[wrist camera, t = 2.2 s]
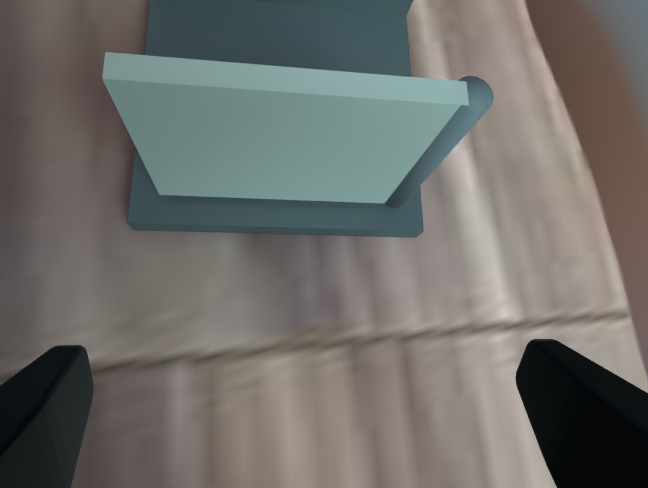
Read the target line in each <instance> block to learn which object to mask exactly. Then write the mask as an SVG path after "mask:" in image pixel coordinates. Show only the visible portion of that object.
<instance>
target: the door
mask: <svg viewBox="0 0 648 488" xmlns="http://www.w3.org/2000/svg"><path fill="white" fill-rule="evenodd" d="M102 79H103V81H104V84H105V86H106V88H107V90H108V92H109V94H110V96H111V98H112V100H113V102H114V104H115V106H116V108H117V110H118V112H119V114H120V116H121V118H122V120H123V122H124V124H125V126H126V128H127V130H128V132H129V134H130V136H131V138H132V140H133V142H134V144H135V146H136V148H137V150H138V152H139V154H140V157H141V159H142V161H143V163H144V165H145V167H146V169H147V171H148V173H149V175H150V177H151V179H152V181H153V183H154V185H155V187H156V189H157V191H158V193H159V195H176V196H202V197H228V198H254V199H280V200H306V201H332V202H358V203H384V204H385V205H387V206H388V207H391V208H398V207H401V206H402V205H403V204H404V203H405V202H406V201H407V200H408V199H409V197H410V196H411V195H412V194H413V193H414V192H415V191H416V190H417V188H418V187H419V186H420V185H421V184H422V183H423V182H424V181H425V179H426V178H427V177H428V176H429V175H430V174H431V173H432V172H433V170H434V169H435V168H436V167H437V166H438V165H439V164H440V163H441V162H442V160H443V159H444V158H445V157H446V156H447V155H448V154H449V153H450V151H451V150H452V149H453V148H454V147H455V146H456V145H457V144H458V142H459V141H460V140H461V139H462V138H463V137H464V136H465V135H466V133H467V132H468V131H469V130H470V129H471V128H472V127H473V126H474V124H475V123H476V122H477V121H478V120H479V119H480V118H481V117H482V115H483V114H484V113H485V112H486V111H487V110H488V109H489V108H490V106H491V105H492V103H493V92H492V90H491V88H490V86H489V85H488V84H487V83H486V82H485V81H484V80H482V79H480V78H478V77H474V76H467V77H463V78H461V79H460V80H459V81H454V80H441V79H429V78H417V77H405V76H393V75H380V74H368V73H356V72H344V71H331V70H319V69H307V68H295V67H282V66H270V65H258V64H246V63H234V62H221V61H209V60H197V59H185V58H172V57H160V56H148V55H136V54H123V53H111V52H105V60H104V67H103V75H102Z"/></svg>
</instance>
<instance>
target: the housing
mask: <svg viewBox="0 0 648 488" xmlns="http://www.w3.org/2000/svg"><path fill="white" fill-rule="evenodd" d="M412 2H413V0H150V5H149V15H148V25H147V35H146V44H145V54H144V55H148V56H160V57H172V58H185V59H197V60H209V61H221V62H234V63H246V64H258V65H270V66H282V67H295V68H307V69H319V70H331V71H344V72H356V73H368V74H380V75H393V76H405V77H411V69H410V57H409V45H408V32H407V20H406V15H407V13H408V11H409V8H410V6H411V4H412ZM127 223H128V224H129V225H130V227H131V228H132V229H133V230H159V231H196V232H233V233H269V234H306V235H343V236H380V237H417V236H419V235H420V234H421V233H422V232H423V231H424V230H423V218H422V206H421V193H420V186H419V187H418V188H417V190H416V191H415V192H414V193H413V194H412V195H411V196H410V197H409V199H408V200H407V201H406V202H405V203H404V204H403V205H402V206H401V207H398V208H391V207H388V206H387V205H385V204H384V203H358V202H332V201H306V200H280V199H254V198H228V197H202V196H176V195H159V193H158V191H157V189H156V187H155V185H154V183H153V181H152V179H151V177H150V175H149V173H148V171H147V169H146V167H145V165H144V163H143V161H142V159H141V157H140V154H139V152H138V150H137V148H136V146H135V152H134V162H133V172H132V182H131V192H130V201H129V211H128V221H127Z"/></svg>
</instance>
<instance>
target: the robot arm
mask: <svg viewBox="0 0 648 488" xmlns="http://www.w3.org/2000/svg"><path fill="white" fill-rule="evenodd" d="M516 385H517V388H518V391H519V394H520V396H521V399H522V402H523V404H524V407H525V410H526V412H527V415H528V418H529V420H530V423H531V426H532V428H533V431H534V434H535V436H536V439H537V442H538V444H539V447H540V450H541V452H542V455H543V457H544V460H545V462H546V465H547V467H548V469H549V471H550V474H551V476H552V478H553V480H554V482H555V484H556V486H557V488H648V393H646V392H645V391H643V390H641V389H640V388H638V387H636V386H634V385H633V384H631V383H629V382H627V381H626V380H624V379H622V378H621V377H619V376H617V375H615V374H614V373H612V372H610V371H608V370H607V369H605V368H603V367H602V366H600V365H598V364H596V363H595V362H593V361H591V360H590V359H588V358H586V357H584V356H583V355H581V354H579V353H577V352H576V351H574V350H572V349H571V348H569V347H567V346H565V345H564V344H562V343H560V342H558V341H557V340H554V339H534V340H531V341H530V342H529V343H528V344H527V346H526V349H525V351H524V354H523V356H522V359H521V362H520V364H519V367H518V369H517V372H516ZM93 392H94V385H93V379H92V374H91V369H90V364H89V359H88V354H87V351H86V349H85V347H83V346H81V345H60V346H55V347H53V348H51V349H50V350H48V351H47V352H46V353H44V354H43V355H41V356H40V357H39V358H37V359H36V360H35V361H33V362H32V363H30V364H29V365H28V366H26V367H25V368H24V369H22V370H21V371H20V372H18V373H17V374H15V375H14V376H13V377H11V378H10V379H9V380H7V381H6V382H5V383H3V384H2V385H0V488H71V484H72V480H73V476H74V472H75V468H76V464H77V460H78V456H79V452H80V448H81V444H82V440H83V436H84V432H85V428H86V424H87V420H88V416H89V412H90V408H91V403H92V399H93Z"/></svg>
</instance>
